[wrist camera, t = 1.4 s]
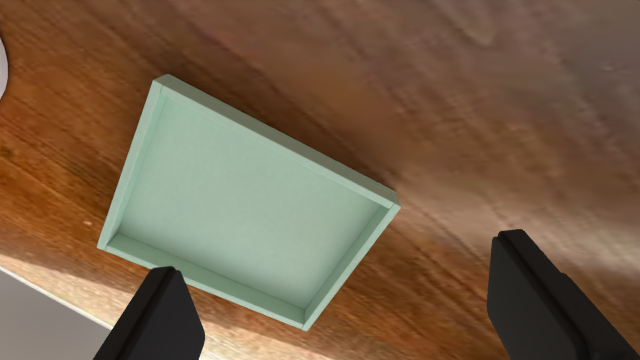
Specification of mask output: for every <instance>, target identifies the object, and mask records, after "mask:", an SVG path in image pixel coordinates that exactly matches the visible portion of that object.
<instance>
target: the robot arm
mask: <svg viewBox="0 0 640 360" xmlns="http://www.w3.org/2000/svg"><path fill="white" fill-rule="evenodd" d="M7 79H8V63H7V58H6V53H5V49H4V46H3V44H2V41H1V38H0V99H1V97H2V95H3V93H4V91H5V88H6V84H7ZM487 312H488V315H489V318H490V320H491V322H492V324H493V326H494V328H495V330H496V332H497V334H498V335H499V337H500V339H501V341H502V343H503V345H504V347H505V349H506V351H507V353H508V355H509V357H510V358H511V360H640V356H639V355H638V354H637V353H636V351H635V350H634V349H633V348H632V347H631V346H630V345H629V344H628V342H627V341H626V340H625V339H624V338H623V337H622V336H621V335H620V333H619V332H618V331H617V330H616V329H615V328H614V327H613V326H612V324H611V323H610V322H609V321H608V320H607V319H606V318H605V317H604V315H603V314H602V313H601V312H600V311H599V310H598V309H597V308H596V306H595V305H594V304H593V303H592V302H591V301H590V300H589V299H588V297H587V296H586V295H585V294H584V293H583V292H582V291H581V290H580V288H579V287H578V286H577V285H576V284H575V283H574V282H573V281H572V280H571V278H569V277H568V276H567V275H566V274H564V273H560V271H559V270H558V269H557V268H556V267H555V266H554V265H553V263H552V262H551V261H550V260H549V259H548V258H547V257H546V255H545V254H544V253H543V252H542V251H541V250H540V249H539V247H538V246H537V245H536V244H535V243H534V242H533V240H532V239H531V238H530V237H529V236H528V235H527V234H526V232H525V231H523V230H522V229H516V230H507V231H500V232H499V234H498V237H493V239H492V248H491V260H490V272H489V283H488V295H487ZM204 342H205V332H204V329H203V326H202V324H201V321H200V319H199V316H198V314H197V311H196V309H195V306H194V303H193V301H192V298H191V296H190V293H189V291H188V288H187V285H186V283H185V280H184V278H183V275H182V273H181V271H180V270H176V269H175V267H173V266H165V267H156V268H152V269H151V270H150V272H149V273H148V275H147V276H146V278H145V280H144V281H143V283H142V284H141V286H140V287H139V289H138V290H137V292H136V293H135V295H134V297H133V298H132V300H131V301H130V303H129V304H128V306H127V307H126V309H125V310H124V312H123V314H122V315H121V317H120V318H119V320H118V321H117V323H116V324H115V326H114V327H113V329H112V330H111V332H110V334H109V335H108V337H107V338H106V340H105V341H104V343H103V344H102V346H101V347H100V349H99V351H98V352H97V354H96V355H95V357H94V358H93V360H199V357H200V354H201V351H202V348H203V346H204Z"/></svg>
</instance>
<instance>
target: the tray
mask: <svg viewBox="0 0 640 360" xmlns="http://www.w3.org/2000/svg"><path fill="white" fill-rule="evenodd" d="M400 208H401V204H400V201H399V199H398V196H397V194H396V192H395V191H394V190H392V189H390V188H388V187H386V186H384V185H382V184H380V183H378V182H376V181H374V180H372V179H370V178H369V177H367V176H365V175H363V174H361V173H359V172H357V171H355V170H353V169H351V168H349V167H347V166H345V165H343V164H342V163H340V162H338V161H336V160H334V159H332V158H330V157H328V156H326V155H324V154H322V153H320V152H318V151H316V150H315V149H313V148H311V147H309V146H307V145H305V144H303V143H301V142H299V141H297V140H295V139H293V138H291V137H289V136H288V135H286V134H284V133H282V132H280V131H278V130H276V129H274V128H272V127H270V126H268V125H266V124H264V123H262V122H260V121H259V120H257V119H255V118H253V117H251V116H249V115H247V114H245V113H243V112H241V111H239V110H237V109H235V108H233V107H232V106H230V105H228V104H226V103H224V102H222V101H220V100H218V99H216V98H214V97H212V96H210V95H208V94H206V93H205V92H203V91H201V90H199V89H197V88H195V87H193V86H191V85H189V84H187V83H185V82H183V81H181V80H179V79H178V78H176V77H174V76H172V75H170V74H166V75H163V76H161V77H159V78H157V79H154V80H153V82H152V85H151V88H150V91H149V94H148V97H147V100H146V103H145V105H144V108H143V111H142V114H141V117H140V120H139V123H138V126H137V129H136V132H135V135H134V138H133V141H132V144H131V147H130V150H129V153H128V156H127V159H126V161H125V164H124V167H123V170H122V173H121V176H120V179H119V182H118V185H117V188H116V191H115V194H114V197H113V200H112V203H111V206H110V209H109V212H108V215H107V217H106V220H105V223H104V226H103V229H102V232H101V235H100V238H99V241H98V244H97V248H99V249H102V250H105V251H107V252H109V253H112V254H114V255H117V256H119V257H122V258H124V259H127V260H129V261H132V262H134V263H137V264H139V265H142V266H144V267H147V268H149V269H152V268H156V267H165V266H173V267H175V269H176V270H180V271H181V273H182V275H183V278H184V280H185V283H187V284H189V285H192V286H194V287H197V288H199V289H202V290H204V291H207V292H209V293H212V294H214V295H217V296H219V297H222V298H224V299H227V300H229V301H232V302H234V303H237V304H239V305H242V306H244V307H247V308H249V309H252V310H254V311H257V312H259V313H262V314H264V315H267V316H269V317H272V318H274V319H277V320H279V321H282V322H284V323H287V324H289V325H292V326H294V327H297V328H299V329H302V330H304V331H308V329H309V328H310V327H311V325H312V324H313V323H314V322H315V320H316V319H317V318H318V316H319V315H320V314H321V312H322V311H323V310H324V308H325V307H326V306H327V304H328V303H329V302H330V300H331V299H332V298H333V296H334V295H335V294H336V292H337V291H338V290H339V289H340V287H341V286H342V285H343V283H344V282H345V281H346V279H347V278H348V277H349V275H350V274H351V273H352V271H353V270H354V269H355V267H356V266H357V265H358V263H359V262H360V261H361V259H362V258H363V257H364V256H365V254H366V253H367V252H368V250H369V249H370V248H371V246H372V245H373V244H374V242H375V241H376V240H377V238H378V237H379V236H380V234H381V233H382V232H383V230H384V229H385V228H386V226H387V225H388V224H389V222H390V221H391V220H392V219H393V217H394V216H395V215H396V213H397V212H398V211H399V209H400Z"/></svg>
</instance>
